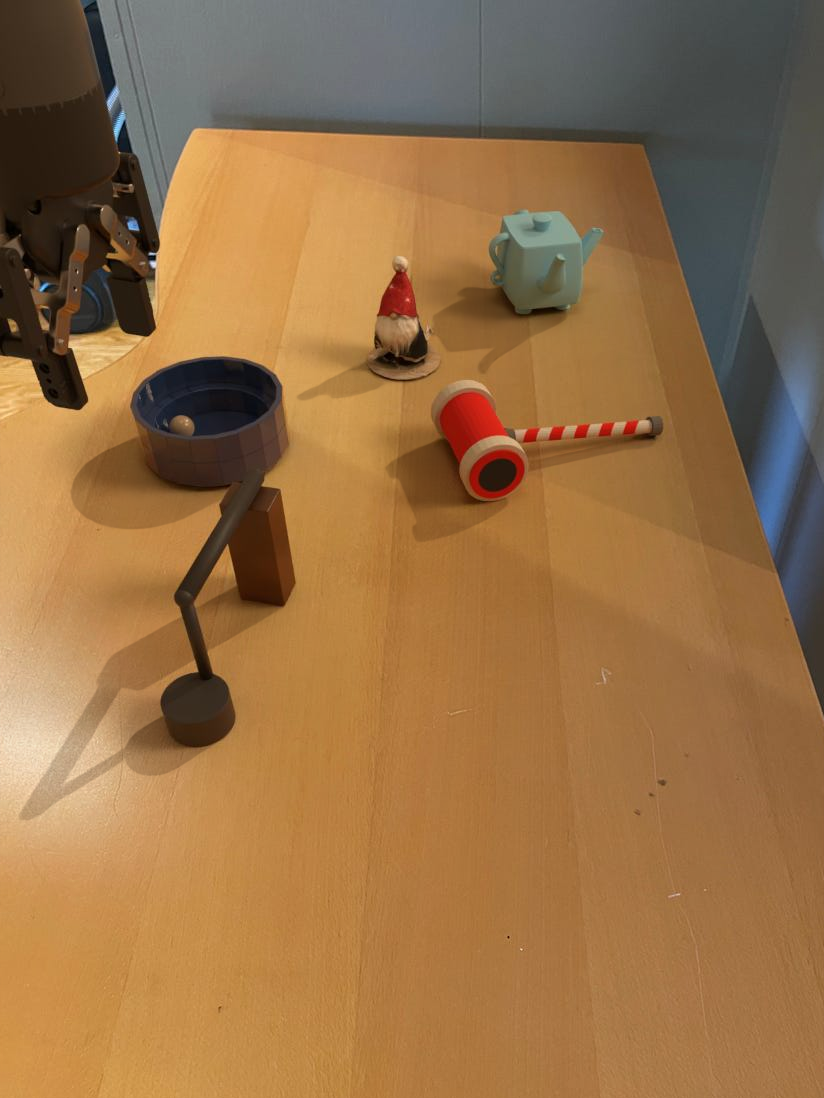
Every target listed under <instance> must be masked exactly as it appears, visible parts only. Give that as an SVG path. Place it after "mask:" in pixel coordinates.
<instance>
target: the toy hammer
mask: <svg viewBox="0 0 824 1098" xmlns="http://www.w3.org/2000/svg"><path fill="white" fill-rule="evenodd" d="M430 408H431V409H430V417H431V421H432V424H433V425H434V427H435V429H436V431H437V433H438V434H439V436H440V437H441V438H443V439H444V440H445V441H448V443H449V446H450V447H451V449H452V451H453V454H454V456H455V457H456V459H457V461H458V464H459V472H458V473H459V476H460V477H459V478H460V480H461V482H462V484H463V485H464V487H465V490H466V491H467V493H468V494H469V495H470V496H471V497H473V498H474V499H476V500H478V501H481V502H482V501H484V502H494V501H500V500H503V499H505V498H507V497H509V496H511V495H512V494H513V493H515V492H517V490H519V489H520V488H521V487H522V485H523V484H524V482H525V481H526V479H527V476H528V474H529V471H530V469H529V468H530V462H529V459H528V456H527V455H526V452H525V451H524V448H523V447H522V446H521V444H527V443H539V442H540V443H541V442H550V441H551V442H552V441H563V440H575V439H589V438H600V437H601V438H602V437H613V436H626V435H627V436H628V435H639V434H645V435H646V436H648V437H653V436H661V435H662V433H663V431H664V420H663V418H662V417H661V416H660V415H654V416H647V417H646V418H645V419H642V420H641V419H640V420H628V421H614V422H601V423H587V424H576V425H562V426H550V427H549V426H547V427H535V428H524V429H523V428H522V429H514V428H507V427H504V425H503V424H502V422H501V420H500V418H499V417H498V415H497V406H496V403H495V400H494V397H493V396H492V393H490V391H489V389H488V388H487V387H486V386H485V385H484V384H483V383H481V382H479V381H477V380H472V379H461V380H457V381H453V382H452V383H449V384H448V385H446V386H444V388H442V389H441V390H440V391H439V392H438V393H437V395H436V396H435V397H434V398H433V402H432V403H431V407H430Z"/></svg>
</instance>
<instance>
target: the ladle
mask: <svg viewBox="0 0 824 1098" xmlns="http://www.w3.org/2000/svg"><path fill="white" fill-rule="evenodd" d="M264 482H265V474H264V472H262V471H261V470H259V469H251V470H250V471H249V472H248V473H247V475H246V476H245V478H244V480H243V481H241V482H240V483H241V485H240V486H239V488H238V489H237V491H236V493H235V494H234V496H233V498H232V499H231V501H230V503H229V504H228V506H227V508H226V509H225V511H224V513H223V514H222V516H220V518H219V519H218V521H217V523H216V524H215V526H214V528H213V529H212V531H211V532H210V534H209V536H208V537H207V539H206V540H205V542H204V544H203V546H202V547H201V549H200V551H199V552H198V554H197V556H196V557H195V559H194V561H193V563H192V564H191V566H190V567H189V569H188V571H187V573H186V574H185V576H184V577H183V579H182V580H181V582H180V584H179V585H178V587H177V588H176V590H175V592H174V595H173V600H174V603H175V605H177V606H178V607H179V610H180V614H181V617H182V620H183V625H184V627H185V631H186V634H187V637H188V641H189V644H190V648H191V651H192V654H193V658H194V661H195V664H196V669H197V671H195V672H190V673H186V674H183V675H180V676H179V677H177V678H175V679H174V680H172V681H171V682H170V683H169V684H168V685H167V686H166V687H165V688H164V690H163V692H162V694H161V696H160V700H159V702H160V704H159V705H160V709H161V712H162V715H163V718H164V720H165V721H164V722H165V723H166V726H167V729H168V732H169V734H170V736H171V737H172V738H173V739H174V741H175V742H177V743H179V744H181V745H183V746H187V747H191V748H192V747H193V748H199V747H200V748H201V747H207V746H211V745H213V744H216V743H217V742H219V741H220V740H222V739H223V738H225V737H226V736H228V734H229V733H230V732H231V731H232V729H233V727H234V725H235V723H236V710H235V707H234V702H233V699H232V695H231V691H230V688H229V686H228V683H227V682H226V680H224V679H223V678H222V677H221V676H219V675H218V674H215V673H214V671H213V668H212V664H211V660H210V657H209V653H208V649H207V646H206V642H205V639H204V634H203V632H202V627H201V624H200V620H199V617H198V613H197V610H196V606H195V601H196V599H197V598H198V596H199V595H200V593H201V591H202V590H203V588H204V586H205V584H206V582H207V581H208V580H209V577H210V575H211V573H212V572H213V570H214V569H215V567H216V565H217V563H218V561H219V559H220V558H221V556H222V554H223V553H224V551H225V549H226V548H227V546H228V543H229V541H230V539H231V537H232V536H233V534H234V532H235V530H236V529H237V527H238V525H239V524H240V522H241V520H242V518H243V517H244V515H245V513H246V511H247V510H248V508H249V506H250V505H251V503H252V501H253V499H254V498H255V496H256V494H257V492H258V491H259V489H260V487H261V486H263V484H264Z"/></svg>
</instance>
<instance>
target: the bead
mask: <svg viewBox="0 0 824 1098" xmlns="http://www.w3.org/2000/svg"><path fill="white" fill-rule="evenodd" d="M169 429H170V432H171V434H178V435H185V436H192V435H193V433H194V429H195V428H194V423H193V422H192V420H191V419H190V418H188V417H187V416H183V415H179V416H176V417H174V418H173V419H172V420H171V422H170V425H169Z"/></svg>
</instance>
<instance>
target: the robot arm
mask: <svg viewBox="0 0 824 1098" xmlns="http://www.w3.org/2000/svg"><path fill="white" fill-rule="evenodd" d="M117 143H118V142H117V140H116V136H115V131H114V126H113V123H112V118H111V114H110V111H109V106H108V102H107V98H106V94H105V90H104V85H103V81H102V77H101V73H100V70H99V65H98V61H97V56H96V53H95V48H94V45H93V40H92V35H91V31H90V28H89V23H88V20H87V17H86V14H85V10H84V8H83V5H82V3H81V0H0V357H7V358H8V357H10V358H15V359H23V360H27V361H30V362H31V364H32V367H33V370H34V373H35V375H36V378H37V381H38V383H39V386H40V388H41V393H42V395H43V397H44V399H45V400H46V401H47V402H48V403H50V404H51V405H53V407H57V408H62V409H66V410H67V409H68V410H72V411H73V410H74V411H81V410H82V409H83V408H84V407H85V406H86V405H87V403H89V396H88V393H87V390H86V386H85V384H84V380H83V378H82V374H81V372H80V368H79V366H78V362H77V359H76V356H75V353H74V349H73V347H69V344H70V343H69V342H70V331H71V319H72V316H73V314H75V313H77V312H78V311H79V310H80V308H81V300H82V289H83V288H82V287H83V285H84V284H85V283H87V282H88V280H89V278H90V277H91V275H92V273H93V272H94V271H97V270H100V269H104V271H106V272H108V273H110V274H109V275H107V277H106V278H105V279H106V283H107V287H108V290H109V294H110V297H111V301H112V304H113V308H114V311H115V316H116V319H117V322H118V327H119V329H120V330H121V331H122V332H123V333H125V334H127V335H132V336H139V337H146V338H148V337H150V336H152V334H154V332H155V331H156V330H157V324H156V320H155V316H154V308H153V304H152V300H151V296H150V293H149V288H148V284H147V281H146V277H147V275H148V273H149V270H150V264H149V263H150V262H149V259H148V258H149V255H150V254H158V252H159V250H160V248H161V247H160V246H161V241H160V235H159V232H158V227H157V225H156V221H155V216H154V213H153V209H152V206H151V202H150V198H149V194H148V191H147V186H146V183H145V179H144V175H143V171H142V168H141V163H140V160H139V157H138V155H137V154H135V153H132V152H131V153H130V152H123V151H119V146H118V144H117ZM127 217H131V218H134V220H135V221H136V224H137V227H138V229H132V228H129V223H128V220H127ZM35 276H36V277H37V278H38V279H39V280H40V281H42V282H44V283H47V284H50V285H55V286H59V287H58V289H57V290H56V291H55V292H48V291H40V290H36V288H35ZM42 309H48V310H49V320H48V329H43V328H42V323H41V321H40V317H39V316H40V311H41V310H42ZM9 320H12V321H13V322H15V324H16V325H15V330H14V331H12V329H11V326H10V322H9Z"/></svg>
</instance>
